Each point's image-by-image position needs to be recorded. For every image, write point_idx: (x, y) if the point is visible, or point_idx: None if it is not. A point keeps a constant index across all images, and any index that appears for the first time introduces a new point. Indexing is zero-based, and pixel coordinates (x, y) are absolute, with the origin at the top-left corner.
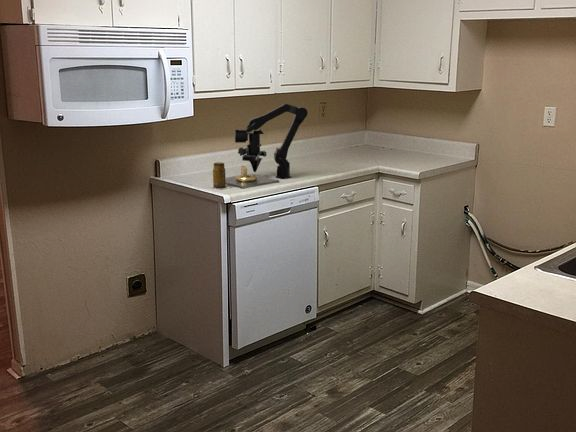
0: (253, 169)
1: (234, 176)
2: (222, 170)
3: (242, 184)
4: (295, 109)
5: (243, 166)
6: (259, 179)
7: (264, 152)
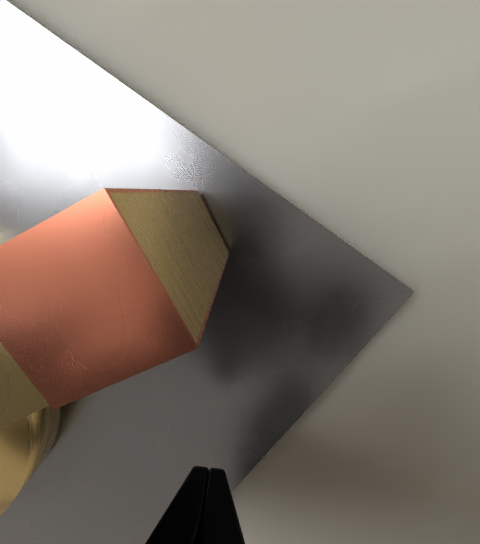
0: (165, 523)
1: (83, 72)
2: None
3: None
4: None
5: (10, 344)
6: (25, 508)
7: None
